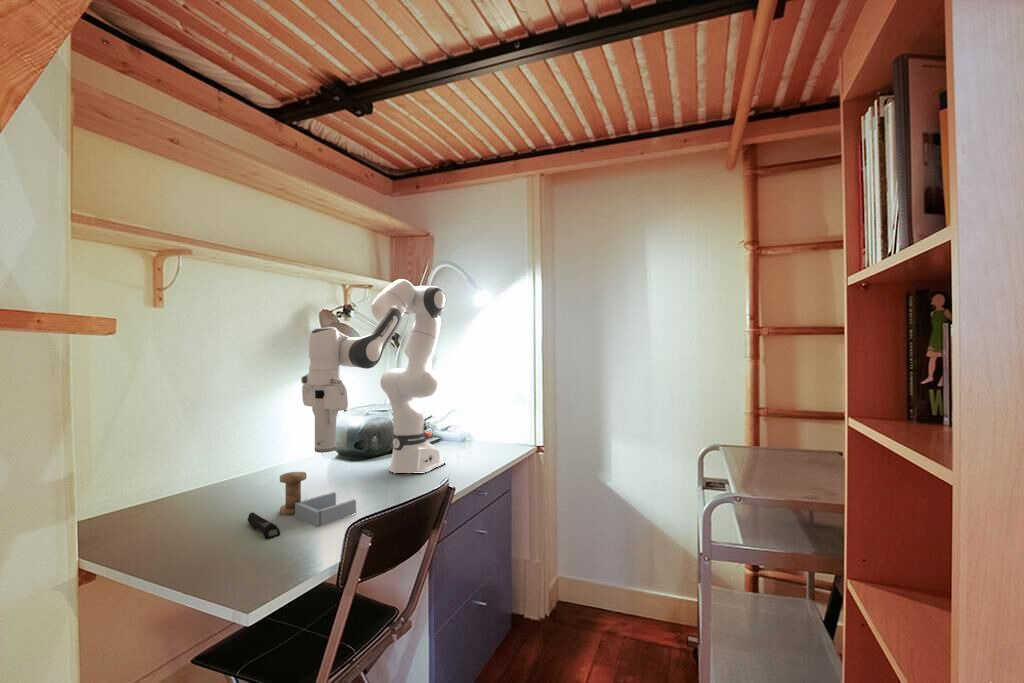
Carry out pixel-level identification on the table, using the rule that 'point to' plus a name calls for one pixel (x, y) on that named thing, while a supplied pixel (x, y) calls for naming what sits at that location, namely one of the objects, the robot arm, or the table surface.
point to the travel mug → (323, 426)
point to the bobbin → (292, 491)
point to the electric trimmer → (263, 526)
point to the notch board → (323, 509)
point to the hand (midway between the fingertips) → (325, 422)
